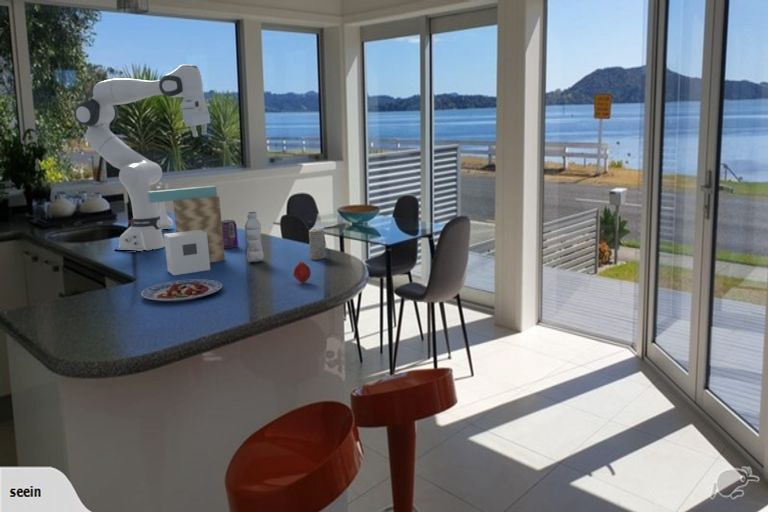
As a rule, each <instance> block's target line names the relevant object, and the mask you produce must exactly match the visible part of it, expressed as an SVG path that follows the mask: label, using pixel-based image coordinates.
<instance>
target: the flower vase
mask: <svg viewBox="0 0 768 512" xmlns="http://www.w3.org/2000/svg"><path fill="white" fill-rule="evenodd" d="M158 185H159V186H158ZM158 185H157V183H155V184H153V186H152V185H150V188H151V191H160V190H171V189H178V188H177V187H176V186H173V183H172V182H171V181H170V182H168V183H162V182H159V183H158ZM165 202H166V201H164V202H158V212H159V216H160V220H161V229H169V230H171V229H170V228H172V227H173V225H174V221H173V219H172V218H171V217H170V216H169V215H168V213H167V210H166V203H165Z"/></svg>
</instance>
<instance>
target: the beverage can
mask: <svg viewBox="0 0 768 512" xmlns="http://www.w3.org/2000/svg"><path fill="white" fill-rule="evenodd" d="M221 222H222V233H223V243H224V249H234V247H235V248H237V247H238V246H239V240H238V237H239V236H238V228H237V223H236V220H235V219H225V220H221Z"/></svg>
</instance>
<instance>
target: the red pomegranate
mask: <svg viewBox="0 0 768 512" xmlns="http://www.w3.org/2000/svg"><path fill="white" fill-rule="evenodd" d="M293 276H294V278H295V279H296V280H297V281H298V282H299V283H300V284H305V283H306V282H307V281H308V280H309V279H310V277H311V268H310V267H309V265H307V264H306V263H304V261H303V260H299V263H298V264H296V265H295V267H294V269H293Z"/></svg>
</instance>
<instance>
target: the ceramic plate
mask: <svg viewBox="0 0 768 512" xmlns="http://www.w3.org/2000/svg"><path fill="white" fill-rule="evenodd" d="M222 288H223V284H222V283H221V282H220V281H217V280H215V279H214V280H213V279H200V278H192V279H182V280H181V279H180V280H173V281H167V282H163V283H158V284H155V285H152V286H149V287H147V288H146V289H143V290H142V291H141V297H142V298H145V299H147V300H152V301H161V302H167V303H168V302H170V303H173V302H176V303H177V302H185V301H192V300H196V299H201V298H203V297H206V296H208V295H212V294H214V293H216V292H218V291H220V290H221V289H222Z"/></svg>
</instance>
